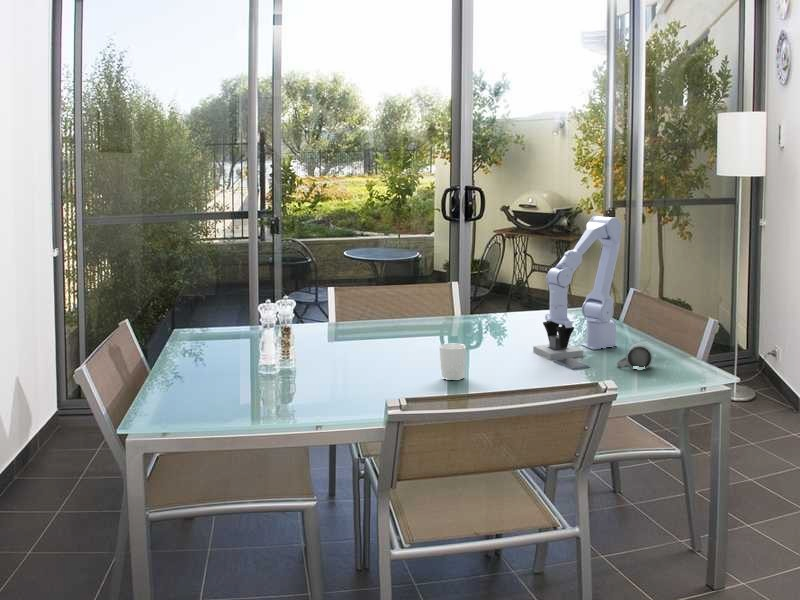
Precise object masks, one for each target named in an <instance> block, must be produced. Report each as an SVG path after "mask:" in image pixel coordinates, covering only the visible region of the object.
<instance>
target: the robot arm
mask: <svg viewBox="0 0 800 600" xmlns="http://www.w3.org/2000/svg"><path fill="white" fill-rule="evenodd" d="M623 227H624V226H623V225H622V222H621V220H620V219H619V218H618V217H615V216H614V217H609V216H601V215H600V216H599V215H593V216H592V217H591V218H590V219H589V221H588V222H587V223H586V229H585V230H584V232H583V234H582V236H581V237H580V238H579V240H578V241H577V243H576V244H575V246H574V247H573V249H569V250H567V251H565V252H564V254H563V256H562V258H561V259H560V260H559V262H558V263H557V264H556V265H555V267H551V268H550V269H549V270H548V272H547V274H546V276H545V281H546V283H547V285H548V290H549V313H545V314H544V316H545V317H544V319H545V320H546V321H543V322H542V324H543V326H544V328H545V329H544V330H545V331H546V334H547V337H548V340H549V336H553V335H559V340H560V347H561V348H567V346H568V344H569V342H570V337H571V336H572V333H573V332H574V330H575V327H574V326H573V321H571V320H570V319H569V318H568V286H569V285H570V284H571V282H572V281H573V280H572V279H573V276H574V272H575V271H576V270H577V268H578V267H579V266H580V265H581V263H582V261H583V255H584V254H585V253H586V252H587V250H588V249H589V248H590V247H591V246H592V245H593V243H594V242H595V241H597V240H598V241H599V242H600V243H601V245H602V248H601V254H600V258H599V261H598V262H599V263H598V267H597V271H596V276H595V281H594V283H593V290H592V291H590V292H589V293H588V294H587V295H586V296H585V300H584V302H583V304H582V306H581V313H582V315H583V317H584V319H585V321H586V336H585V338H586V339H585V340H586V342H584V343H580V345H581V346H583V347H585V348H588V349H591V350H601V348H603V349H607V348H606V347H612V346H617V347H618V345H617V327H616V324H615V321H614V320H612V318H613V317H614V304H615V300H614V299H613V297H612V296H611V295H610V293H611V287H612V282H613V277H614V274H615V270H616V266H617V265H616V264H617V260H618V255H619V253H620V252H619V251H620V248H621V237H622V232H623ZM560 325H561V326H560ZM612 348H613V347H612Z"/></svg>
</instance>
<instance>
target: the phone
mask: <svg viewBox="0 0 800 600" xmlns="http://www.w3.org/2000/svg"><path fill="white" fill-rule="evenodd" d="M552 361H553V363H554V364H557V365H559V366H562V367H565V368H567V369H570V370H571V371H572V370H573V371H575V370H582V369H589V368H590V365H588V364H586V363H583V362H580V361H578V360H576V359H574V358H564V359H555V360H552Z"/></svg>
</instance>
